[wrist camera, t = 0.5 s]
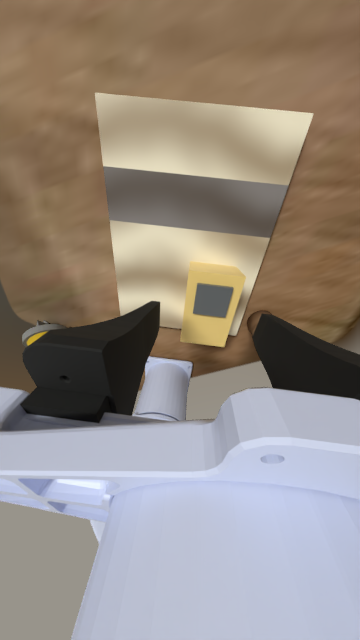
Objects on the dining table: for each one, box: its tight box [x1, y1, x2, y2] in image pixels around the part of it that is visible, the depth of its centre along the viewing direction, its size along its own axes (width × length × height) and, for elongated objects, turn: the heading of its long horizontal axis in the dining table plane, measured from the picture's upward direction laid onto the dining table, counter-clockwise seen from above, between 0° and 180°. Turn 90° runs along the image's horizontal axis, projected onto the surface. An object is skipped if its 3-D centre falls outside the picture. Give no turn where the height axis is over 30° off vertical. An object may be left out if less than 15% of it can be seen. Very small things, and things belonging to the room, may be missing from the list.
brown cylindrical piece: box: [247, 310, 272, 336], centre depth 19 cm, size 4×4×6 cm
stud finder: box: [180, 261, 246, 347], centre depth 17 cm, size 8×5×4 cm, turn 175°
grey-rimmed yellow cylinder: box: [22, 320, 67, 347], centre depth 23 cm, size 5×5×10 cm
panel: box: [95, 93, 314, 336], centre depth 17 cm, size 20×16×1 cm
